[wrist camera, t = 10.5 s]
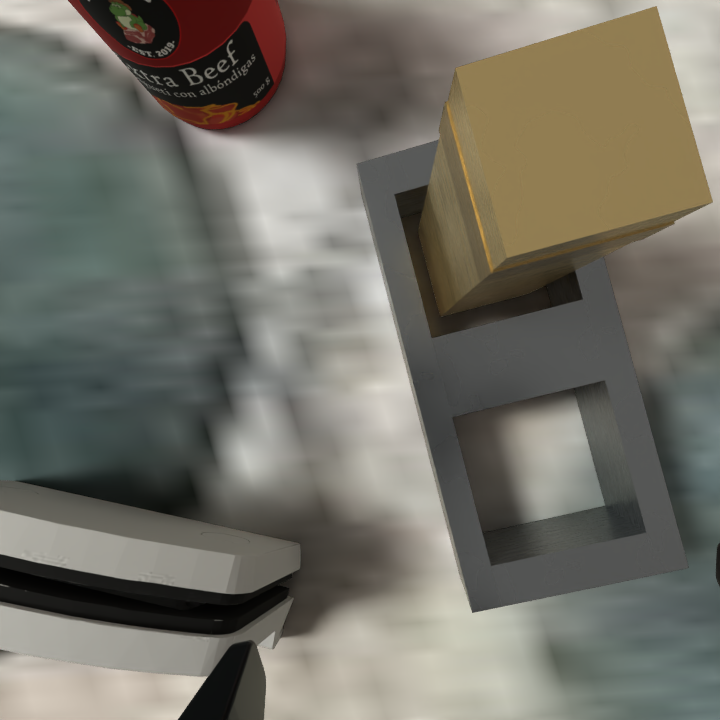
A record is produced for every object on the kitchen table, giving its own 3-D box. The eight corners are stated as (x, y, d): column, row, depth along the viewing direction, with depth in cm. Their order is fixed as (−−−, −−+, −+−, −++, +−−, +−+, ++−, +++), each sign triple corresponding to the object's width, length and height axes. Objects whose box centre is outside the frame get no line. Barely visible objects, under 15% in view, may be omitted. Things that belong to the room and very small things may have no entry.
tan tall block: (529, 294, 19) (716, 203, 8) (439, 318, 20) (505, 260, 9) (505, 206, 19) (658, 3, 8) (416, 231, 20) (452, 66, 9)
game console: (-7, 569, 21) (-299, 624, 12) (34, 481, 23) (-196, 467, 13) (287, 640, 20) (222, 762, 11) (309, 541, 22) (269, 572, 12)
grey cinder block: (641, 535, 19) (688, 567, 16) (459, 574, 19) (472, 612, 16) (534, 144, 19) (561, 104, 16) (361, 193, 20) (356, 163, 17)
